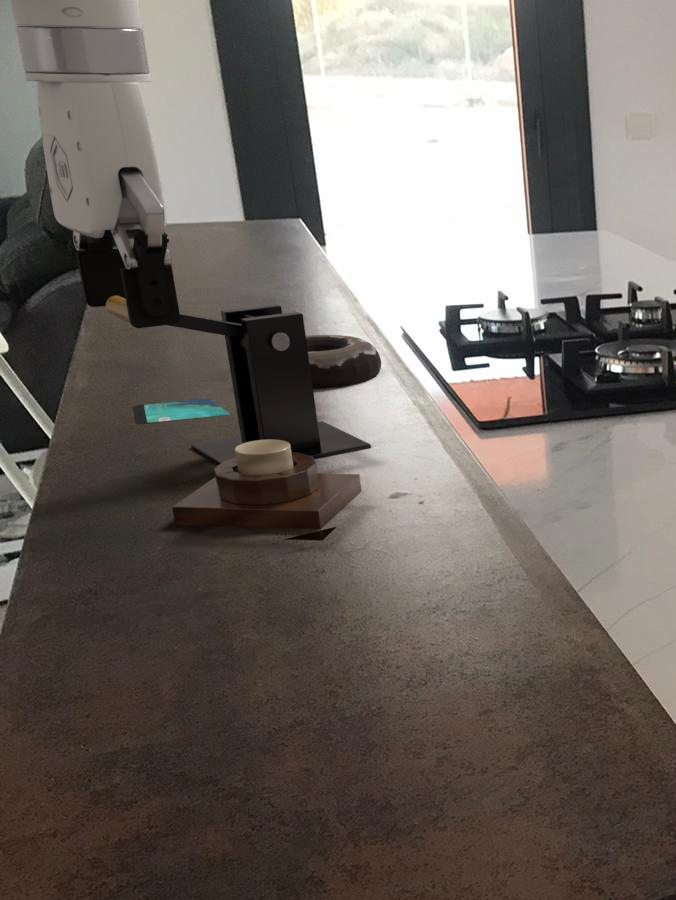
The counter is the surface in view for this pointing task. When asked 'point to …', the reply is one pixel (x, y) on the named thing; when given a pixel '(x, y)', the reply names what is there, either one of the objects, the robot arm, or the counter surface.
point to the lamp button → (263, 457)
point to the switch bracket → (275, 388)
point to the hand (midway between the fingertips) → (132, 314)
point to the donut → (341, 360)
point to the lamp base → (270, 499)
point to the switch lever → (185, 320)
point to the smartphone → (177, 411)
